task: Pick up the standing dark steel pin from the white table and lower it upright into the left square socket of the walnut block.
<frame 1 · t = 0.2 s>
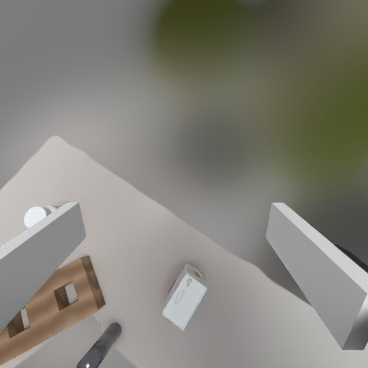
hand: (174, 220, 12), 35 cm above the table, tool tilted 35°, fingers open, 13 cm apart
ink box: (185, 283, 43), on the table
pill bottle: (69, 221, 48), on the table
socket block: (53, 302, 42), on the table
pin: (114, 330, 40), on the table
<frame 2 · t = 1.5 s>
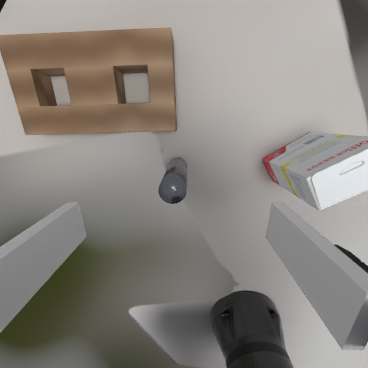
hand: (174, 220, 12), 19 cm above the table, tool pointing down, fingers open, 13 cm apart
ink box: (290, 157, 30), on the table
socket block: (103, 91, 27), on the table
pin: (178, 166, 30), on the table
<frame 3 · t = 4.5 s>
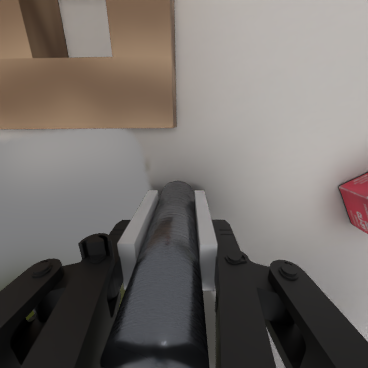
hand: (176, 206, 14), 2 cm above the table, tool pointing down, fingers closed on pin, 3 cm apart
socket block: (19, 38, 12), on the table
pin: (177, 196, 16), on the table, touching gripper
when the fingers open (5 cm above the table, at t = 8.7 s): pin stays where it is, resting in socket block.
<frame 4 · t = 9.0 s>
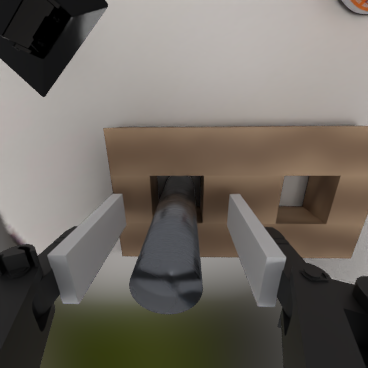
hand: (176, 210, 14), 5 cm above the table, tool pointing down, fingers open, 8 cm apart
socket block: (231, 186, 18), on the table
black stepped mount: (52, 29, 15), on the table
pin: (179, 186, 18), resting in socket block
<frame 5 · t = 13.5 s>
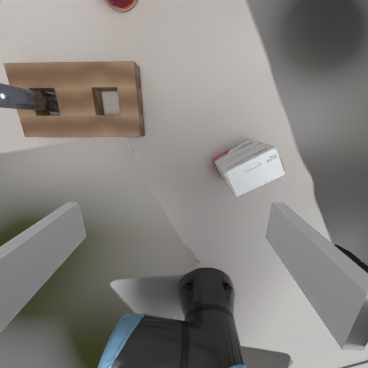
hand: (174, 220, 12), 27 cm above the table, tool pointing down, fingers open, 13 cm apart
ink box: (234, 158, 38), on the table
socket block: (86, 103, 35), on the table
pin: (59, 104, 35), resting in socket block
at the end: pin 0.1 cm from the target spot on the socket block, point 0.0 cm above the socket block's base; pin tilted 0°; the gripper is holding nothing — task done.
